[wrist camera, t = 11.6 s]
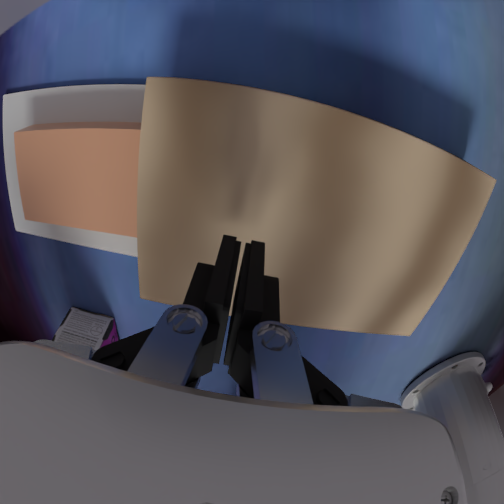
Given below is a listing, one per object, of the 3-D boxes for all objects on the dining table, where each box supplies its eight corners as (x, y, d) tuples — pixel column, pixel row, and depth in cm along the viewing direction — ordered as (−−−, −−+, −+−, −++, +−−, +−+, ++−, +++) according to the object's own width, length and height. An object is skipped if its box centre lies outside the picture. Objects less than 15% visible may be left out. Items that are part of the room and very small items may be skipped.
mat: (152, 84, 13) (150, 84, 12) (142, 255, 19) (141, 257, 18) (6, 94, 12) (3, 95, 12) (17, 228, 18) (15, 230, 17)
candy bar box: (134, 381, 28) (101, 512, 15) (96, 370, 28) (55, 493, 14) (118, 315, 22) (51, 496, 8) (70, 303, 22) (-7, 461, 8)
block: (154, 123, 14) (140, 129, 12) (151, 221, 17) (139, 238, 15) (33, 124, 13) (14, 132, 11) (41, 206, 16) (25, 219, 15)
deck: (463, 160, 14) (496, 180, 11) (395, 302, 20) (410, 335, 18) (171, 77, 13) (146, 76, 10) (156, 263, 19) (140, 298, 16)
